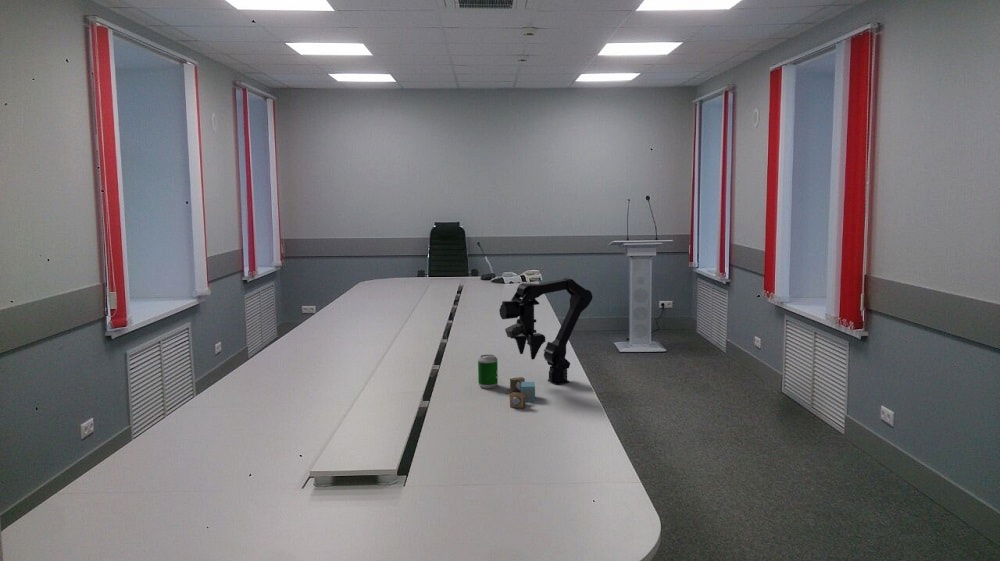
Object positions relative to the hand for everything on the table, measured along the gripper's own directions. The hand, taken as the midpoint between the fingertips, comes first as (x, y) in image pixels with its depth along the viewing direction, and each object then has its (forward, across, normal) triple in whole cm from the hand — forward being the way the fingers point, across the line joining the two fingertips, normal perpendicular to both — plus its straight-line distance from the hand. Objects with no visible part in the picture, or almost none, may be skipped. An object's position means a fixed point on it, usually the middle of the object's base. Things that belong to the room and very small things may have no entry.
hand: (527, 356), depth 249 cm
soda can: (+12, -8, -13) cm, 20 cm away
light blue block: (+12, +12, -6) cm, 19 cm away
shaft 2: (+12, +18, -13) cm, 26 cm away
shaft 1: (+12, +4, -6) cm, 14 cm away
